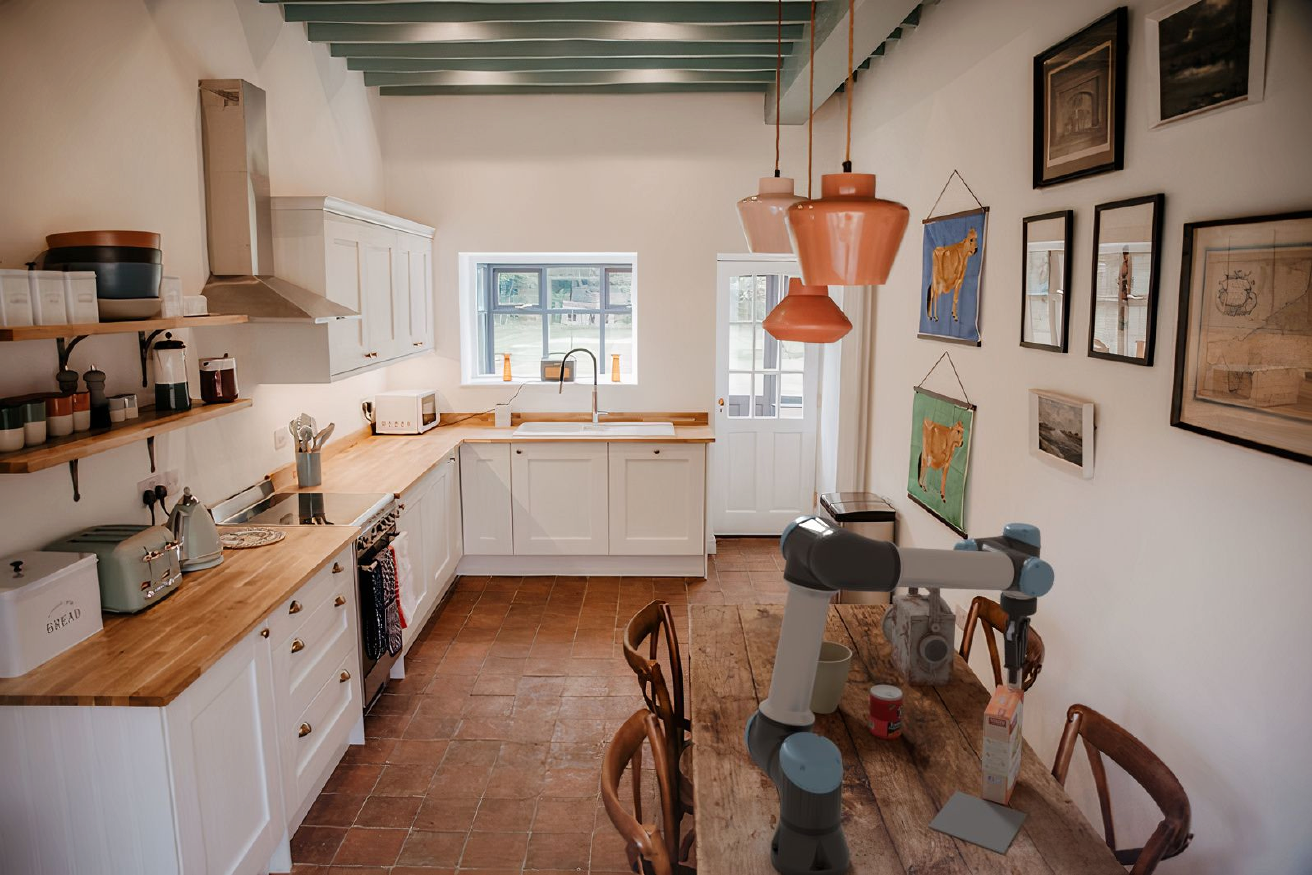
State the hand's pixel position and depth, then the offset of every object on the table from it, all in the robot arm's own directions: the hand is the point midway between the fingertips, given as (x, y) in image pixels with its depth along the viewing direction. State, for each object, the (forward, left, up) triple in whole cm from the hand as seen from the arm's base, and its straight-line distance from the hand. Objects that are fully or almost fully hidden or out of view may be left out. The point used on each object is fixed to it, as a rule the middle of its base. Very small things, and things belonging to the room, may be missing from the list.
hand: (1013, 695), depth 196 cm
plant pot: (+6, +50, -20) cm, 54 cm away
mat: (-22, 0, -20) cm, 29 cm away
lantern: (+44, +39, -20) cm, 62 cm away
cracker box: (-6, 0, -19) cm, 20 cm away
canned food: (+3, +31, -20) cm, 37 cm away
